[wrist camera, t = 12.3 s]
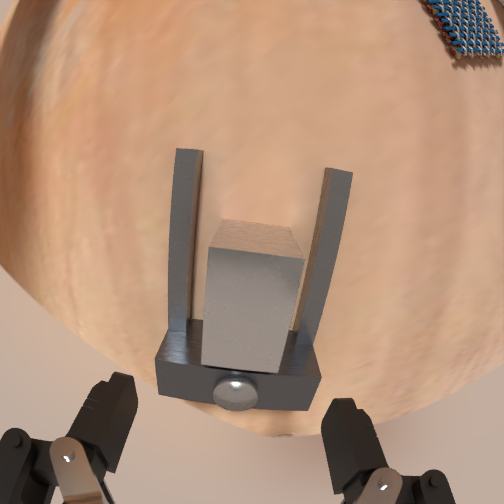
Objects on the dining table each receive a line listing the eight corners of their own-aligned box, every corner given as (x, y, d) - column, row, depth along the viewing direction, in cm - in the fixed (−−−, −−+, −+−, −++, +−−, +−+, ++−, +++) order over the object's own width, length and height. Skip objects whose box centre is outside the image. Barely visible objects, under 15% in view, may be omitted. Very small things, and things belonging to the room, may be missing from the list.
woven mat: (501, 60, 15) (512, 57, 13) (450, 61, 16) (462, 57, 14) (461, -15, 12) (469, -20, 10) (399, -23, 13) (407, -31, 11)
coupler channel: (174, 350, 25) (156, 401, 18) (183, 149, 19) (151, 145, 13) (299, 364, 25) (309, 417, 19) (344, 171, 20) (382, 178, 13)
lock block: (213, 314, 24) (201, 367, 17) (223, 218, 21) (208, 246, 14) (271, 321, 24) (276, 376, 17) (289, 227, 21) (304, 258, 15)
